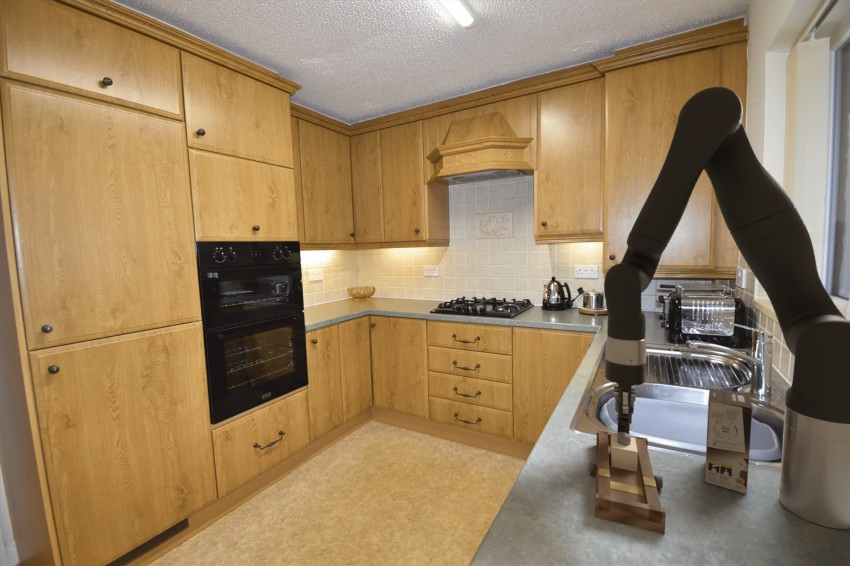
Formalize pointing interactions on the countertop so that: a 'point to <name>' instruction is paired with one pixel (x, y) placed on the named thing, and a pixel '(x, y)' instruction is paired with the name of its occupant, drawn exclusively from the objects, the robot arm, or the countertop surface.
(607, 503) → the wooden slider track
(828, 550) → the countertop surface
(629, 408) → the robot arm
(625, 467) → the rider
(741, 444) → the coffee box
